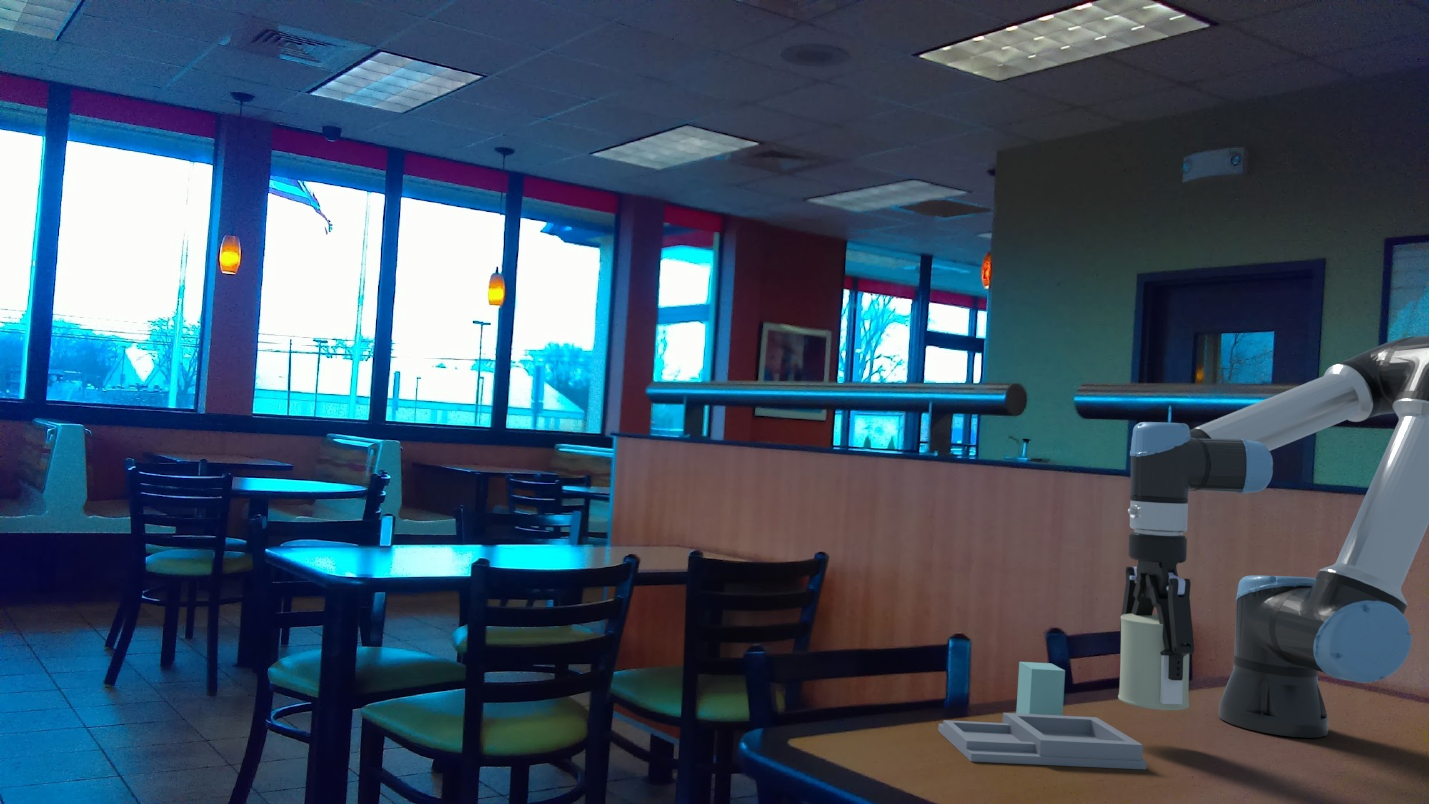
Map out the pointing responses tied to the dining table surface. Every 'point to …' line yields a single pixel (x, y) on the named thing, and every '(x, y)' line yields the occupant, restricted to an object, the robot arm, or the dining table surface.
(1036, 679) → the block
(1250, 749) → the dining table surface
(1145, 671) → the can
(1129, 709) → the dining table surface
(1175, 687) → the robot arm
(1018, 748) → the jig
